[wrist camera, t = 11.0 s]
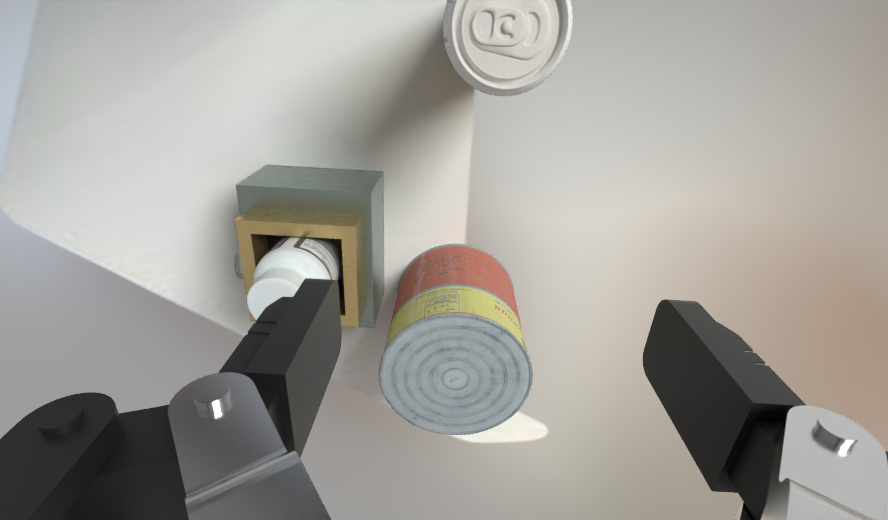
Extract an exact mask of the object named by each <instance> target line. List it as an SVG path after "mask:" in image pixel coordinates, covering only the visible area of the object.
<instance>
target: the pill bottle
mask: <svg viewBox="0 0 888 520" xmlns="http://www.w3.org/2000/svg"><path fill="white" fill-rule="evenodd" d="M342 272H343V258H342V240H341V239H333V238H315V237H298V236H283V237H282V238H281V239H280V241H279V242H278V243H277V244H276V245H275V246H274V247H273V248H272V249H271V250H270V251H269V252H268V253H267V254H266V255H265V256H264V257H263V258H262V259H261V260H260V262H259V263H258V265H257V267H256V269H255V272H254V284H253V285H252V286H251V288H250V290H249V292H248V294H247V305H248V309H249V311H250V313H251V314H252V316H253V317H254V318H255V319H256V320H257V319H258V317H259V316H260V315H261V313H262V312H263V310H264V309H265V308H266V307H267V306H269V305H270V304H272V303H273V302H275V301H276V300H278V299H279V298H281V297H293V296H294V295H295V293H296V292H297V290H298V289H299V287H300V285H301V284H302V282H303V281H304V280H305V279H306V278H312V279H330V280H337V282H338V280H339V278H340V276H341V274H342Z"/></svg>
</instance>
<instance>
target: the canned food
mask: <svg viewBox="0 0 888 520" xmlns="http://www.w3.org/2000/svg"><path fill="white" fill-rule="evenodd" d="M532 377H533V375H532V366H531V361H530V358H529V355H528V353H527V350H526V345H525V341H524V337H523V332H522V328H521V323H520V319H519V315H518V310H517V306H516V301H515V297H514V290H513V284H512V280H511V278H510V275H509V273H508V272H507V270H506V268H505V267H504V266H503V264H502V263H501V262H500V261H499V260H497V258H495V257H494V256H493V255H491V254H490V253H488V252H486V251H484V250H482V249H480V248H477V247H474V246H470V245H465V244H447V245H441V246H437V247H434V248H432V249H429V250H427V251H425V252H423V253H422V254H420V255H419V256H417V257H416V258H415V259H414V260H413V261H412V262H411V263H410V264H409V265H408V266H407V268H406V269H405V271H404V273H403V275H402V277H401V279H400V283H399V288H398V296H397V300H396V304H395V309H394V313H393V317H392V321H391V326H390V330H389V334H388V339H387V343H386V347H385V351H384V354H383V356H382V359H381V363H380V369H379V379H380V385H381V389H382V392H383V394H384V396H385V398H386V400H387V401H388V403H389V404H390V406H391V407H392V408H393V409H394V410H395V411H396V412H397V413H398V414H399V415H400V416H401V417H402V418H404V419H405V420H407V421H408V422H410V423H412V424H413V425H416V426H418V427H420V428H422V429H425V430H428V431H431V432H435V433H440V434H448V435H466V434H473V433H478V432H482V431H485V430H488V429H491V428H493V427H495V426H498V425H500V424H501V423H503V422H505V421H506V420H508V419H509V418H510V417H512V416H513V415H514V414H515V413H516V412H517V411H518V410H519V409H520V407H521V406H522V405H523V404H524V402H525V400H526V399H527V397H528V395H529V392H530V389H531V385H532Z"/></svg>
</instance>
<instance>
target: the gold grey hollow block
mask: <svg viewBox="0 0 888 520" xmlns="http://www.w3.org/2000/svg"><path fill="white" fill-rule="evenodd" d="M236 189H237V195H238V202H239V208H240V214H241V215H240V216H239V217H237V218H236V219H235V226H236V232H237V238H238V244H239V250H238V251H237V254H236V257H235V271H236V274H237V276H238V277H239V278H242V279H244V281H245V287H246V293H247V294H248V292H249V290H250V288H251V286H252V285H253V284H254V272H255V269H256V267H257V265H258V263H259V262H260V260H261V259H262V258H263V257H264V256H265V255H266V254H267V253H268V252H269V251H270V250H271V249H272V248H273V247H274V246H275V245H276V244H277V243H278V242H279V241H280V239H281V238H282V237H283V236H298V237H315V238H333V239H341V240H342V258H343V272H342V274H341V276H340V278H339V280H338V286H339V299H340V316H341V326H348V327H367V328H374V326H375V323H376V319H377V316H378V312H379V309H380V305H381V302H382V298H383V295H384V209H383V172H380V171H363V170H345V169H328V168H311V167H293V166H276V165H266V166H265V167H263V168H261V169H260V170H258V171H257V172H255V173H254V174H252V175H251V176H249V177H247V178H246V179H244V180H243V181H241V182H240V183H238V184H237V185H236ZM250 317H251V321H256V319H255V318H254V317H253V316H252V314H251V313H250Z"/></svg>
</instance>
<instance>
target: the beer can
mask: <svg viewBox="0 0 888 520" xmlns="http://www.w3.org/2000/svg"><path fill="white" fill-rule="evenodd" d="M572 23H573V15H572V5H571V0H448V1H447V4H446V8H445V12H444V19H443V37H444V43H445V48H446V51H447V54H448V57H449V59H450V61H451V63H452V65H453V67H454V69H455V70H456V71H457V73H458V74H459V75H460V76H461V77H462V79H463V80H464V81H466V82H467V83H468V84H469V85H471V86H472V87H474V88H475V89H477V90H479V91H481V92H484V93H487V94H490V95H495V96H512V95H518V94H521V93H524V92H527V91H529V90H531V89H533V88H535V87H537V86H538V85H539V84H541V83H542V82H544V81H545V80H546V79H547V78H548V77H549V76H550V75H551V74H552V73H553V72H554V71H555V69H556V68H557V66H558V65H559V64H560V62H561V60H562V58H563V57H564V55H565V52H566V50H567V47H568V44H569V41H570V37H571V32H572Z"/></svg>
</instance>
